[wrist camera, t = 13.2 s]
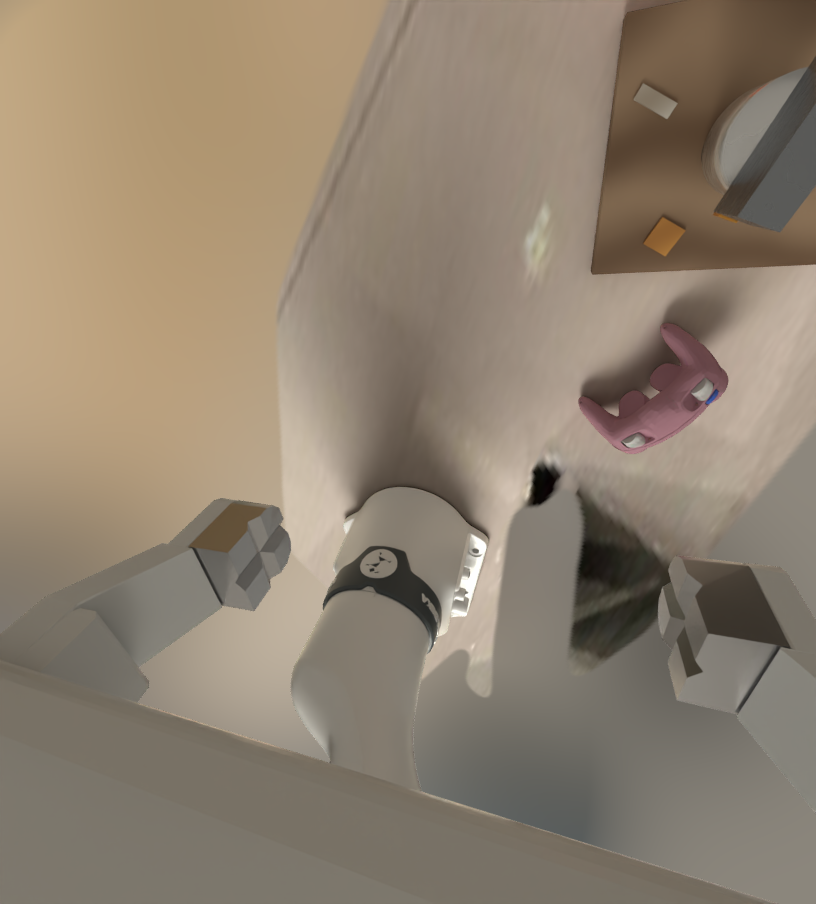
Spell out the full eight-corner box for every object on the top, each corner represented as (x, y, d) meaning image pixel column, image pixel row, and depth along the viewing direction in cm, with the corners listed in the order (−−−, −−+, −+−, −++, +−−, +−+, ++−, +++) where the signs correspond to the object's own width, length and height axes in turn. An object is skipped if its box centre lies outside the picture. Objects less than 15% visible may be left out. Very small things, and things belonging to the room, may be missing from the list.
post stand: (812, 260, 28) (855, 274, 24) (590, 270, 32) (596, 284, 28) (928, -42, 21) (1018, -93, 17) (623, 20, 25) (637, -10, 21)
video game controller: (601, 416, 40) (636, 472, 35) (569, 400, 38) (602, 457, 33) (697, 336, 34) (754, 391, 29) (666, 312, 32) (722, 366, 27)
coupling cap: (763, 40, 20) (845, -13, 15) (863, 74, 20) (985, 34, 14) (668, 200, 25) (704, 207, 19) (749, 230, 24) (810, 247, 19)
